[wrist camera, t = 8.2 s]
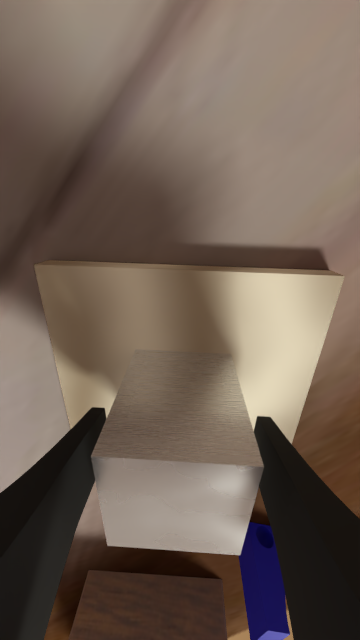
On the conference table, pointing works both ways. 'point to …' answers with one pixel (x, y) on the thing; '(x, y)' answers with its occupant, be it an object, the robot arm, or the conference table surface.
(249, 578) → the cable clip
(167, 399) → the brushed grey cube
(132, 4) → the conference table surface
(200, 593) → the tissue box cover
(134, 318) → the board
